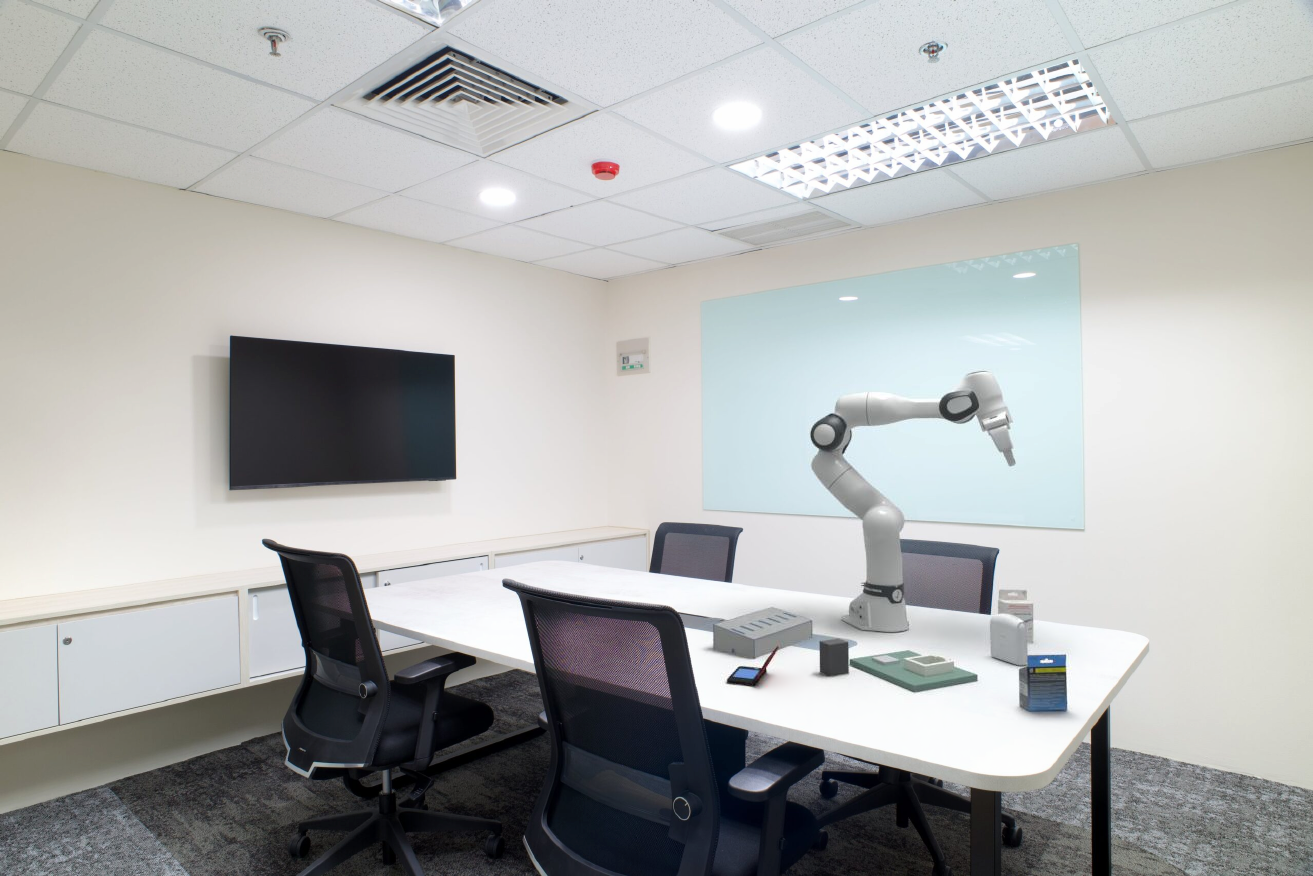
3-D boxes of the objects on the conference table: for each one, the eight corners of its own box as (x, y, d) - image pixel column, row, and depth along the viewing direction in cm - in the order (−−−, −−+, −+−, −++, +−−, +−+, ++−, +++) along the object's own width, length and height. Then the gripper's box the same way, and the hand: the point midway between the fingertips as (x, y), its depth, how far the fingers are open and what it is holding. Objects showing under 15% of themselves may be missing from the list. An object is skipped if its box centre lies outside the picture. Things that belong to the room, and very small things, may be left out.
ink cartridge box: (1003, 642, 217) (1003, 592, 217) (997, 638, 222) (997, 589, 222) (1034, 643, 216) (1033, 592, 217) (1027, 638, 221) (1026, 589, 222)
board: (849, 664, 196) (849, 649, 196) (908, 655, 204) (908, 641, 204) (914, 692, 174) (914, 675, 174) (977, 680, 182) (977, 664, 182)
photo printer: (987, 656, 203) (987, 611, 203) (1000, 655, 205) (999, 610, 205) (1018, 667, 193) (1017, 619, 194) (1030, 665, 195) (1029, 618, 195)
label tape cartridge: (1057, 704, 165) (1057, 649, 165) (1068, 711, 161) (1067, 654, 162) (1018, 705, 165) (1017, 650, 165) (1028, 712, 161) (1027, 655, 161)
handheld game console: (738, 670, 193) (738, 641, 194) (779, 674, 190) (779, 645, 190) (725, 684, 182) (725, 654, 182) (768, 689, 178) (768, 658, 178)
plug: (819, 672, 190) (819, 641, 190) (842, 668, 193) (841, 638, 193) (829, 676, 186) (829, 645, 186) (851, 673, 189) (851, 641, 189)
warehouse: (754, 660, 203) (754, 632, 203) (713, 650, 212) (713, 624, 212) (812, 638, 224) (812, 613, 224) (772, 631, 234) (772, 607, 234)
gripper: (986, 425, 233) (1002, 467, 231) (983, 424, 215) (1000, 469, 212) (1007, 418, 230) (1024, 461, 228) (1005, 417, 212) (1023, 462, 210)
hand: (1012, 465), depth 220 cm, fingers open, 8 cm apart
